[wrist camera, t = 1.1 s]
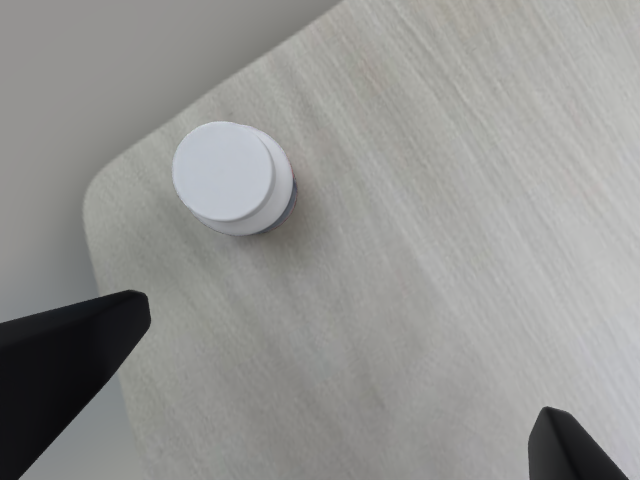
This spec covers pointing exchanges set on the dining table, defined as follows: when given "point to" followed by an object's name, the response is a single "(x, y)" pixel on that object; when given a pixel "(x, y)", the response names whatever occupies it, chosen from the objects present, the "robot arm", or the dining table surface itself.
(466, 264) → the dining table surface
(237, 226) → the pill bottle
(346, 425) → the dining table surface
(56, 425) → the robot arm
